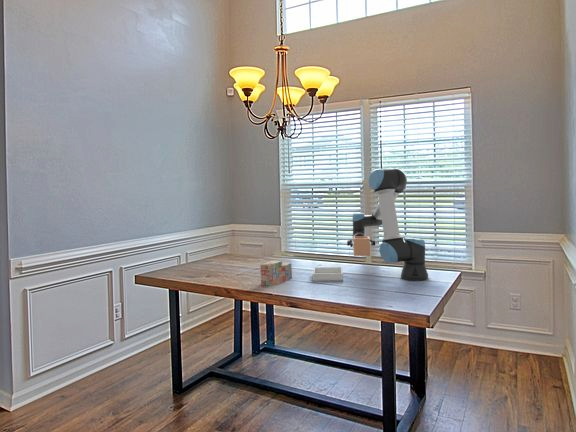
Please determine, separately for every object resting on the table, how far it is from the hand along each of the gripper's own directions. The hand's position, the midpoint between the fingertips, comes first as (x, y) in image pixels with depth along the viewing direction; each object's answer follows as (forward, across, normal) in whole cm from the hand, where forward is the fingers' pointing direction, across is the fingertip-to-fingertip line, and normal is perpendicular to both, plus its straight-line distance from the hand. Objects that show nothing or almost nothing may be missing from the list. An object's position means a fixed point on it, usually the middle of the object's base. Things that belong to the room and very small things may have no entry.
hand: (362, 245), depth 237 cm
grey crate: (-5, +20, -20) cm, 29 cm away
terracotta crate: (-5, 0, -6) cm, 8 cm away
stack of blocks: (+4, +49, -20) cm, 53 cm away
